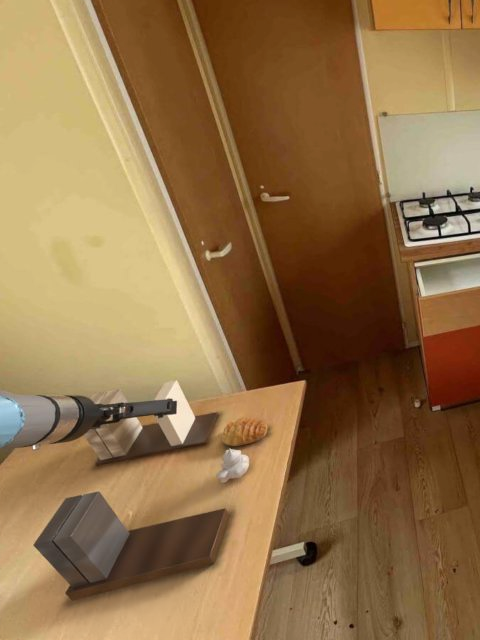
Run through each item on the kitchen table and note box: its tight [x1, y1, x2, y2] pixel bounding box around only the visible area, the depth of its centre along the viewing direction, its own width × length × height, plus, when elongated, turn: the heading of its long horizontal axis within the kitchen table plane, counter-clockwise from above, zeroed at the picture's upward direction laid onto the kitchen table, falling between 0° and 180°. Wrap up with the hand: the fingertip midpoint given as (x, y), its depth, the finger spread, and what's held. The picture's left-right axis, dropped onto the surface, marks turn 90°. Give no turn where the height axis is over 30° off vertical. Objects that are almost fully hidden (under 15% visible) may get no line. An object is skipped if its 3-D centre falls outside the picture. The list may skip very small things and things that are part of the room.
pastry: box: [221, 417, 268, 447], centre depth 103 cm, size 9×7×4 cm
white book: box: [153, 379, 196, 446], centre depth 100 cm, size 2×8×13 cm, turn 15°
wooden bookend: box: [83, 388, 219, 467], centre depth 100 cm, size 22×9×14 cm, turn 105°
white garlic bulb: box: [216, 447, 250, 483], centre depth 92 cm, size 5×7×8 cm
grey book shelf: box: [32, 490, 231, 602], centre depth 76 cm, size 22×9×16 cm, turn 105°
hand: (137, 414), depth 88 cm, fingers open, 13 cm apart
